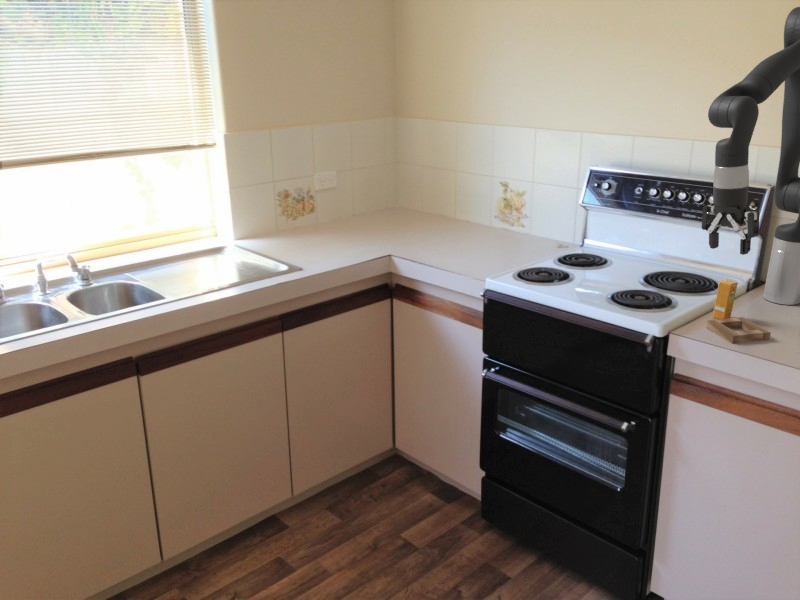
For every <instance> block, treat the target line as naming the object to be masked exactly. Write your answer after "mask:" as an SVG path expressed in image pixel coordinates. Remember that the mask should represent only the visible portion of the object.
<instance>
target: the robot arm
mask: <svg viewBox="0 0 800 600" xmlns="http://www.w3.org/2000/svg"><path fill="white" fill-rule="evenodd" d="M783 83H784V90H783V93H784V94H783V103H782V104H783V105H782V118H781V139H780V140H781V141H780V152H779V153H780V154H779V160H778V161H779V163H778V168H777V176H776V181H775V188H774V197H773V198H774V204H775V206H776V208H777V209H778V210H780V211H783V212H788V213H793V214H797V215H798V216H797V219H796V221H795V222H792V223H791V222H790V223H783V224H780V225H777V226H776V227H775V231H774V235H773V241H772V247H771V253H770V257H769V258H770V259H769V262H768V269H767V274H766V280H765V285H764V290H763V295H762V297H763V298H764V299H765V300H766V301H768V302H771V303H775V304H778V305H779V304H780V305H789V306H792V305H798V304H800V177H799V167H800V6H797V7H794V8H792V9H791V10H790V12H789V13H788V15H787V17H786V19H785V23H784V28H783V49H781V50H779V51H777V52H776V53H773V54H772V55H770V56H768V57H766V58H765V59H763V60H761V61H760V62H759V63H758V64H756V65H755V67H753V69H752V70H751V71H750V72H749V73H748V74H747V75H746V76H744V78H743V79H742V80H741V81H739V82H737V83H735V84H734V85H732V86H731V87H730V88H727V89H726V90H725V91H722V93H720V94H719V95H718V96H716V98H715V99H713V101H712V103H711V104H710V106H709V107H708V112H707V119H708V122H709V123H710V124H711V125H712V126H713V127H716V128H720V129H721V128H722V129H724V128H725V129H732V130H731V131H732V132H731V134H730V136H729V137H727V138H722V139H720V140H718V141H717V142H716V144H715V154H714V156H715V157H714V158H715V159H714V172H713V185H712V186H713V187H712V188H713V191H712V193H713V194H712V203H713V204H714V205H713V204H708V205H704V206H703V207H702V215H701V216H702V217H701V230H702V231H707V233H708V245H709V248H710V249H713V250H714V249H717V248H719V246H720V245H719V242H720V232H719V230H720V229H721V228H722V227H728V228H729V229H730V228H731V229H734V231H735V232H737V234H738V235H739V237H740V240H739V241H740V244H739V254H740V255H743V256H744V255H747V254H749V253H750V251H751V243H752V242H751V241H752V239H753V238H755V237H758V236H760V212H759V210H754V211H749V210H748V209H747V204H748V202H749V186H750V184H749V182H750V170H749V156H750V155H749V152H750V151H749V148H750V144H751V141H752V138H753V135H754V131H755V127H756V125H757V122H758V118H759V106H758V105H761V104H763V103H764V102H765V101H767V100H768V99H769V98H770V97H771V96H772V94H773V93H774V92H775V91H776V90H777V89H779V88H780V86H781V85H782V84H783ZM714 216H715V218H714Z"/></svg>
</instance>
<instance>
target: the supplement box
mask: <svg viewBox="0 0 800 600" xmlns="http://www.w3.org/2000/svg"><path fill="white" fill-rule="evenodd" d="M737 288H738V282H737V281H735V280H732V279H728V278H726V279H723V280H720V281H719V283H718V288H717V291H716V292H717V293H716V298H715V303H714V308H713V313H712V318H714V319H715V320H718V319H729V318H732V311H733V307H734V302H735V299H736V298H735V297H736V293H737Z"/></svg>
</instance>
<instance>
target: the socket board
mask: <svg viewBox="0 0 800 600" xmlns="http://www.w3.org/2000/svg"><path fill="white" fill-rule="evenodd" d="M705 329H707V330H709V331H710V330H711V332H712V333H713V334H715V333H716V334H715V335H717V336H719V337H720V336H721V337H720V338H723V339H724V340H726V341H727V342H729V343H731V345H732V344H734V345H735V344H743V343H752V342H753V343H754V342H762V341H770V339H771V338H770V337H771V333H772V332H771V331H769V330H767V329H766V328H764V327H761V325H758V324H756V323H755V322H752V321H751V320H748V318H745V317H744V316H743V317H730V318H729V319H709V320H708V319H707V321H706V327H705ZM736 329H737V330H738V329H740V330H741V331H739V330H738V331H735V330H736Z"/></svg>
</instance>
